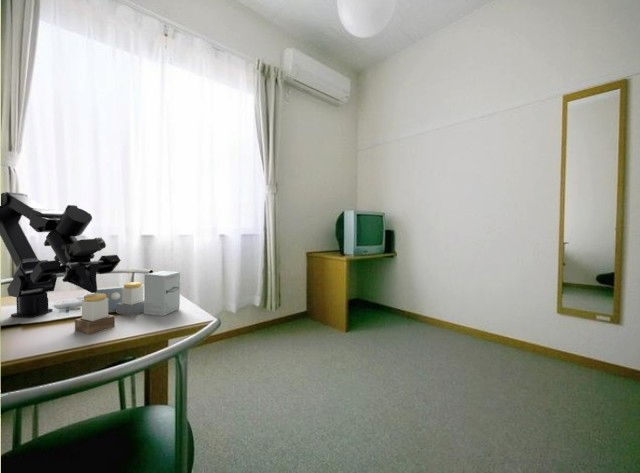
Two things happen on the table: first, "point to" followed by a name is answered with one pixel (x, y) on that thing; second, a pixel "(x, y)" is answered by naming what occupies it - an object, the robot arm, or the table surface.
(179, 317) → the table surface
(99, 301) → the lidded white jar
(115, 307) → the pattern card
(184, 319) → the table surface
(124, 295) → the yellow topped white block
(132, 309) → the grey collar
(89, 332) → the walnut collar
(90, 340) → the table surface
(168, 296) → the supplement box
